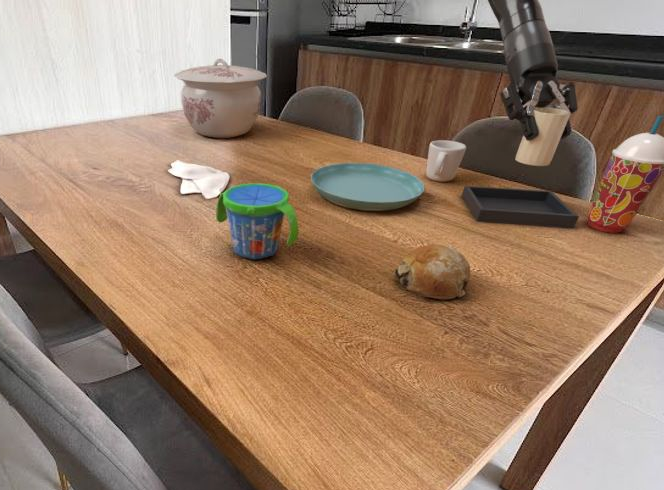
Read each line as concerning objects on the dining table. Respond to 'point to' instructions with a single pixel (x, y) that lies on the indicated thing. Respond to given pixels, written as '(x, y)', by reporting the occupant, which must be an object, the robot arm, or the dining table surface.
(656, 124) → the smoothie
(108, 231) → the dining table surface
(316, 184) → the teal plate
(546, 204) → the tray
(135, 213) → the dining table surface
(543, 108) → the tumbler
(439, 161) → the cup
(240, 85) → the chamber pot
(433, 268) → the bread roll
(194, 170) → the cloth
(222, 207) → the snack cup
